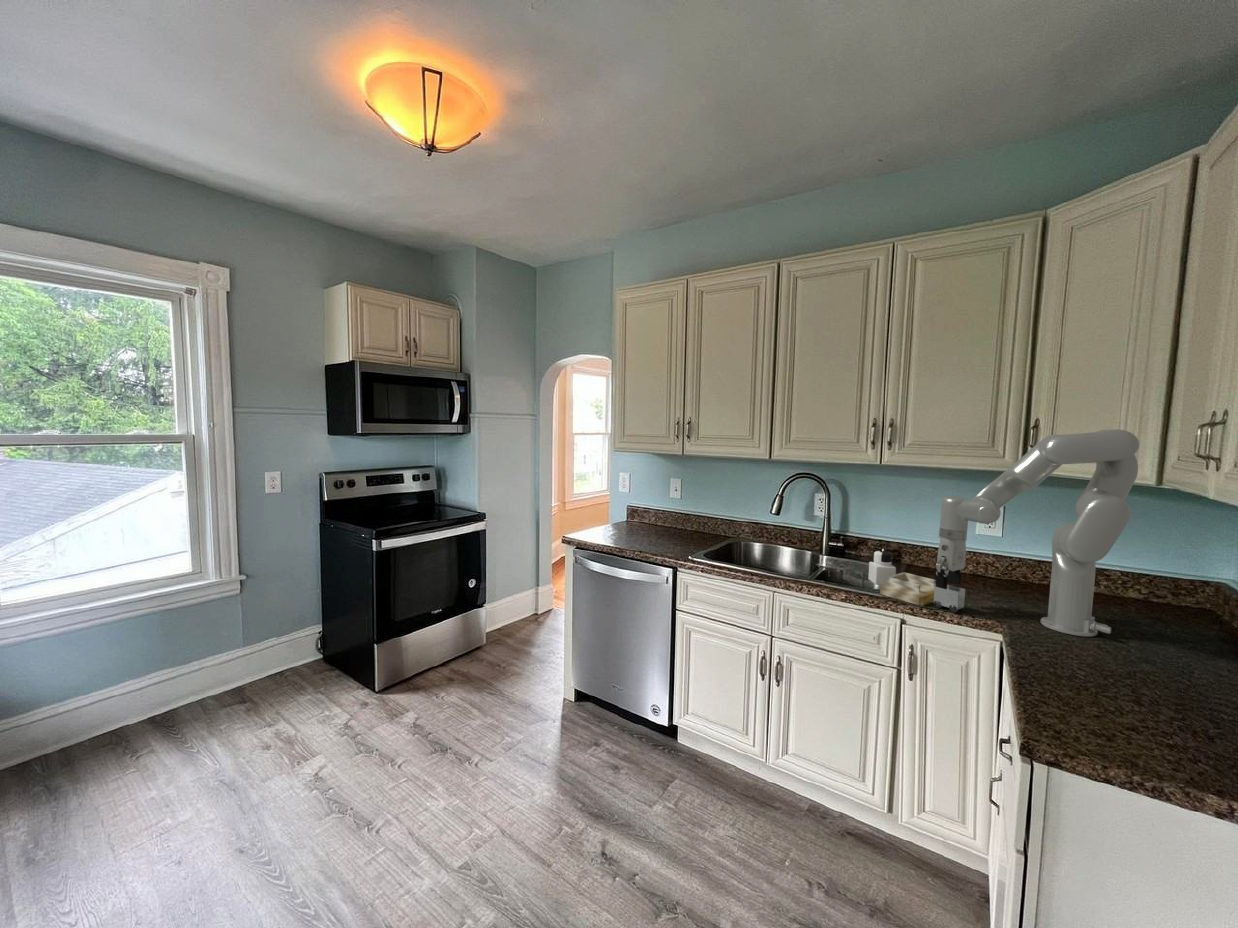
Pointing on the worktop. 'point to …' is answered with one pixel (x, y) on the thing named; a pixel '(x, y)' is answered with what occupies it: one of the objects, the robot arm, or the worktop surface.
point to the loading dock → (909, 588)
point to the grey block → (949, 598)
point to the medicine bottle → (881, 568)
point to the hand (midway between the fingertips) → (948, 585)
